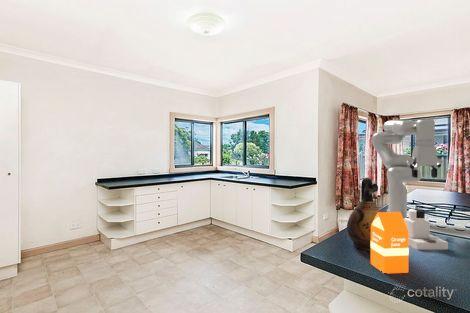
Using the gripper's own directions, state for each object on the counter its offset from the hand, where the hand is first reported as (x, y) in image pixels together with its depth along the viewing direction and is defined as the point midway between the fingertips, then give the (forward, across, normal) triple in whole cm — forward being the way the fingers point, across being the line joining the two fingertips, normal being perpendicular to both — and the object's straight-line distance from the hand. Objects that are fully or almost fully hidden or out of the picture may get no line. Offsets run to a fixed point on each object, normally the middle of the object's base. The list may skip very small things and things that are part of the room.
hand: (424, 177), depth 127 cm
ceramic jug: (+28, +40, +21) cm, 53 cm away
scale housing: (+28, +14, +16) cm, 35 cm away
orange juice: (+28, +41, +41) cm, 64 cm away
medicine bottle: (+25, +14, +14) cm, 32 cm away
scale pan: (+26, +14, +14) cm, 33 cm away
